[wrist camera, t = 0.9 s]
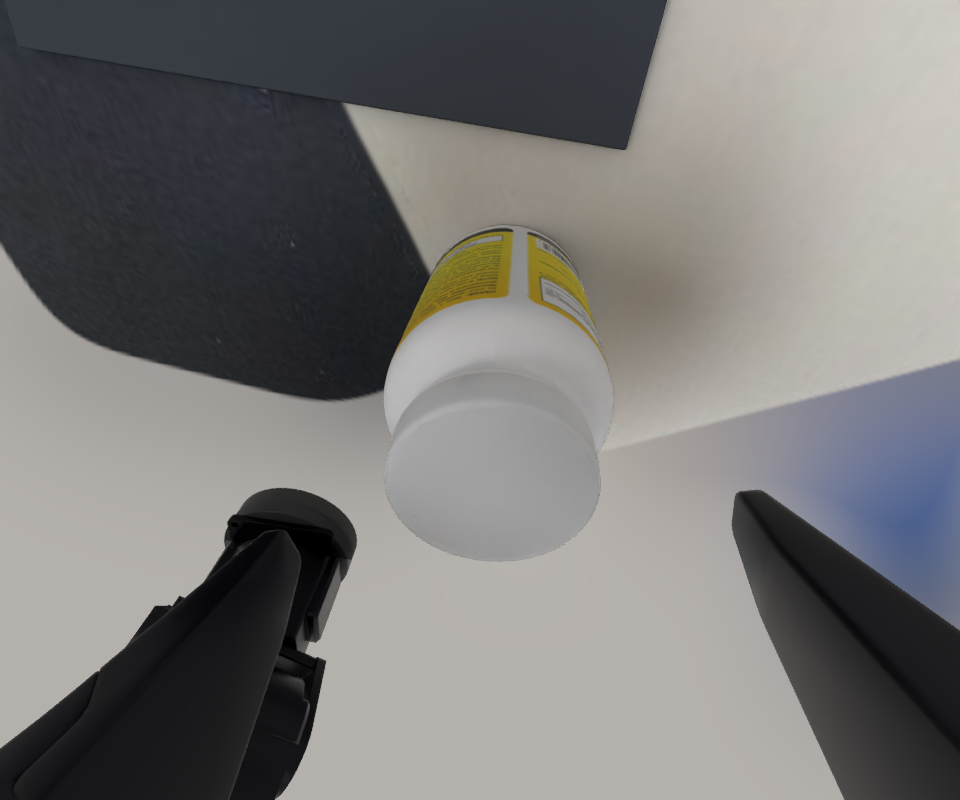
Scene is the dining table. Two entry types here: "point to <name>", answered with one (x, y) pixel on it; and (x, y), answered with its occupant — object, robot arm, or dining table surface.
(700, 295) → the dining table surface
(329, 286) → the dining table surface
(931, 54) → the dining table surface
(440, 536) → the pill bottle
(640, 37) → the left mat
